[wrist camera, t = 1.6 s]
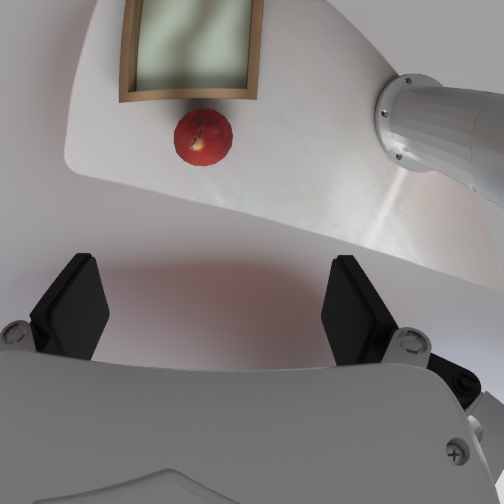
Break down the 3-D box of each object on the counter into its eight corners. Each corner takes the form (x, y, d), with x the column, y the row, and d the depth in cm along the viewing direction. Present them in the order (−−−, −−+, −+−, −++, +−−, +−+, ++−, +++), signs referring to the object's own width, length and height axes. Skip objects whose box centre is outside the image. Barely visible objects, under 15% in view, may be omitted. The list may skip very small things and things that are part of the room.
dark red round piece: (184, 105, 29) (166, 108, 22) (237, 110, 29) (234, 113, 22) (179, 156, 32) (161, 173, 25) (230, 161, 32) (226, 179, 25)
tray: (263, -12, 22) (265, -24, 19) (255, 99, 29) (256, 99, 26) (138, -7, 21) (128, -15, 18) (130, 101, 28) (118, 102, 25)
